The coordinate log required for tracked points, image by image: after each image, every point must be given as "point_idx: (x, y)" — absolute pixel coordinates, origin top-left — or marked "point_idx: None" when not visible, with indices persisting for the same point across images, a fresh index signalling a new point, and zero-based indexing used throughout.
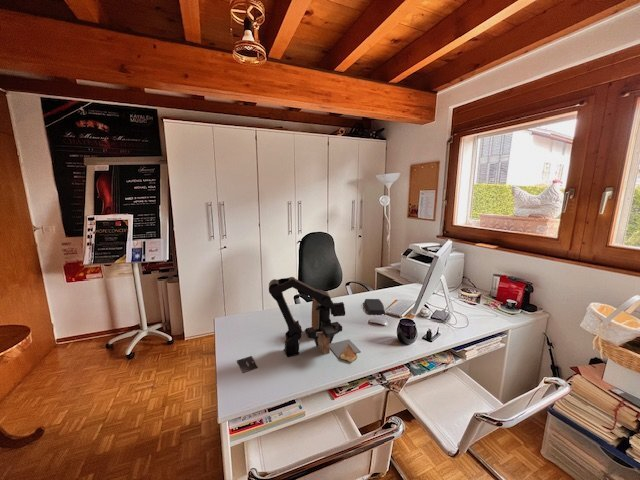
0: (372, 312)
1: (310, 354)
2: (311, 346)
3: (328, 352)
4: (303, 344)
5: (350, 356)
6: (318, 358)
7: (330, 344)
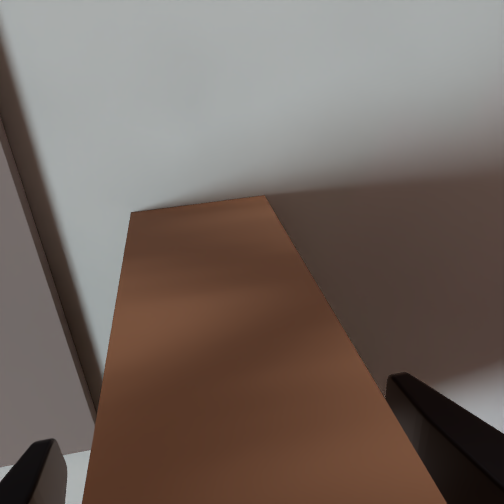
0: None
1: (495, 256)
2: None
3: (158, 217)
4: None
5: None
6: (433, 95)
7: None
